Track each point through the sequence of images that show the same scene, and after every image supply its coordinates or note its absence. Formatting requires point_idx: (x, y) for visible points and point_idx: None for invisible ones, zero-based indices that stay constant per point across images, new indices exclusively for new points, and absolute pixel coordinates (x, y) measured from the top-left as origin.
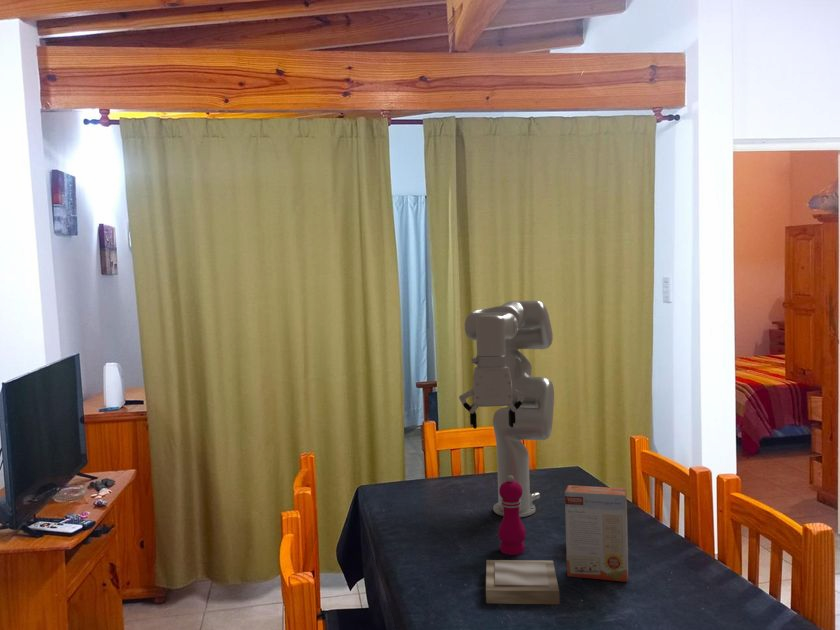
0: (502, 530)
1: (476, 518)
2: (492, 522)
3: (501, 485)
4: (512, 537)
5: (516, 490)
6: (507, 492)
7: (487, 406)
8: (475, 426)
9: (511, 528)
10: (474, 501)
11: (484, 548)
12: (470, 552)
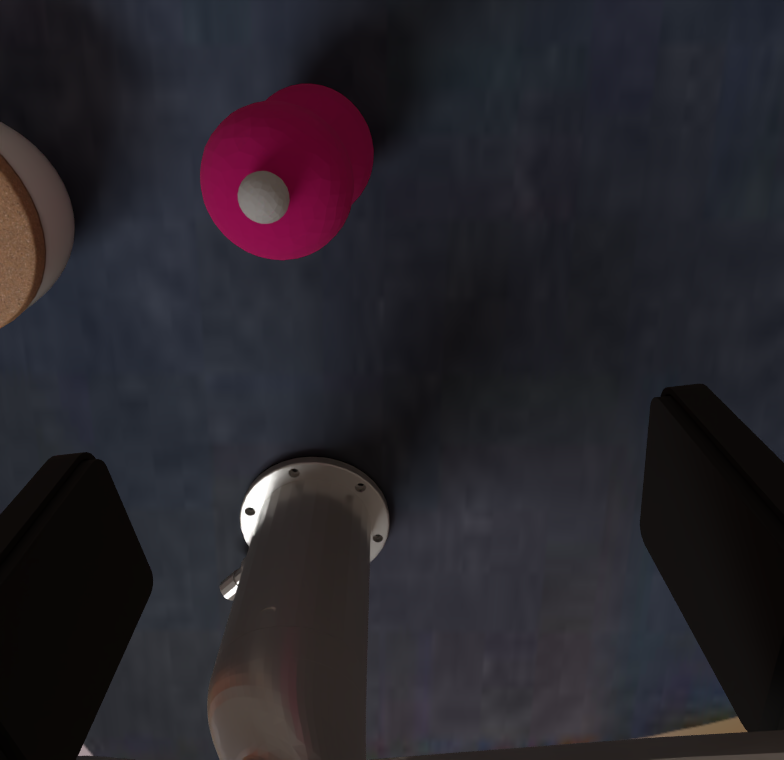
0: (351, 113)
1: (451, 454)
2: (394, 419)
3: (334, 178)
4: (305, 84)
5: (231, 117)
6: (295, 106)
7: (570, 746)
8: (687, 399)
9: (304, 98)
10: (452, 589)
11: (431, 168)
12: (490, 125)
